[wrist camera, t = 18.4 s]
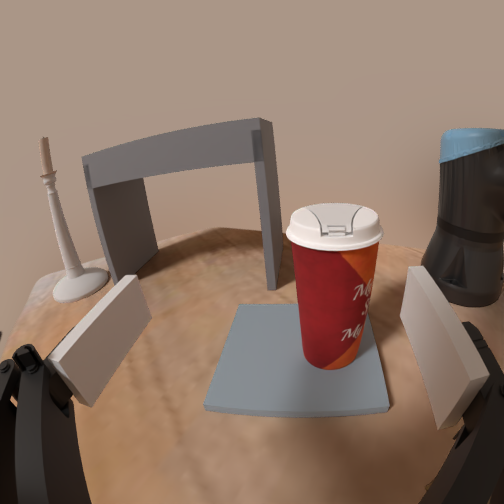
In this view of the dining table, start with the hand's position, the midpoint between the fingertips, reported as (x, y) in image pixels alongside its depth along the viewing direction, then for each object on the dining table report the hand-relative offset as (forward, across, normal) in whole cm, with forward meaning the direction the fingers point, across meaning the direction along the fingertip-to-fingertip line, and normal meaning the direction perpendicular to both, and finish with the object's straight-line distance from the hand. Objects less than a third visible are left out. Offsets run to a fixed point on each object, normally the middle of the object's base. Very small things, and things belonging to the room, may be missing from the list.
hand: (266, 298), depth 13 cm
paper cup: (+10, +4, -14) cm, 17 cm away
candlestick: (+23, -41, -14) cm, 49 cm away
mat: (+10, +1, -14) cm, 18 cm away
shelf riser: (+31, -17, -14) cm, 39 cm away
